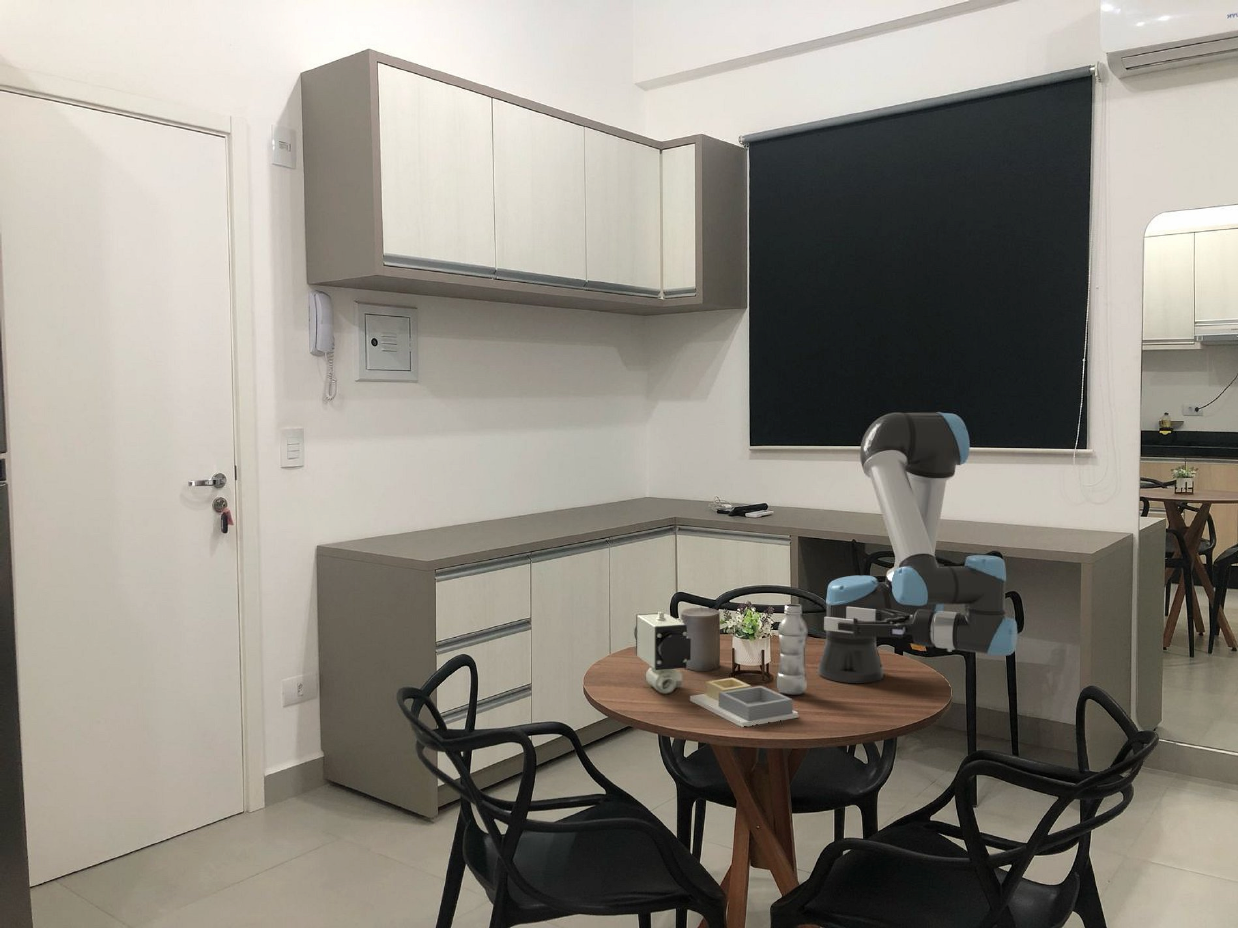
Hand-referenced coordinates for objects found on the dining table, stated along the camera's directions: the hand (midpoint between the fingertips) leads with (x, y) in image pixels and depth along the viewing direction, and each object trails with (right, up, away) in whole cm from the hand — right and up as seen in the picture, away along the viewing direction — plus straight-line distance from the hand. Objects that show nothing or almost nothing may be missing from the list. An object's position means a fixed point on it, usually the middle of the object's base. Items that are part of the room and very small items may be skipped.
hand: (835, 617), depth 214 cm
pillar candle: (-27, -17, +30) cm, 44 cm away
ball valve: (-37, -18, +10) cm, 42 cm away
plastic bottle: (-8, -18, +7) cm, 21 cm away
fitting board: (-21, -19, -4) cm, 28 cm away
